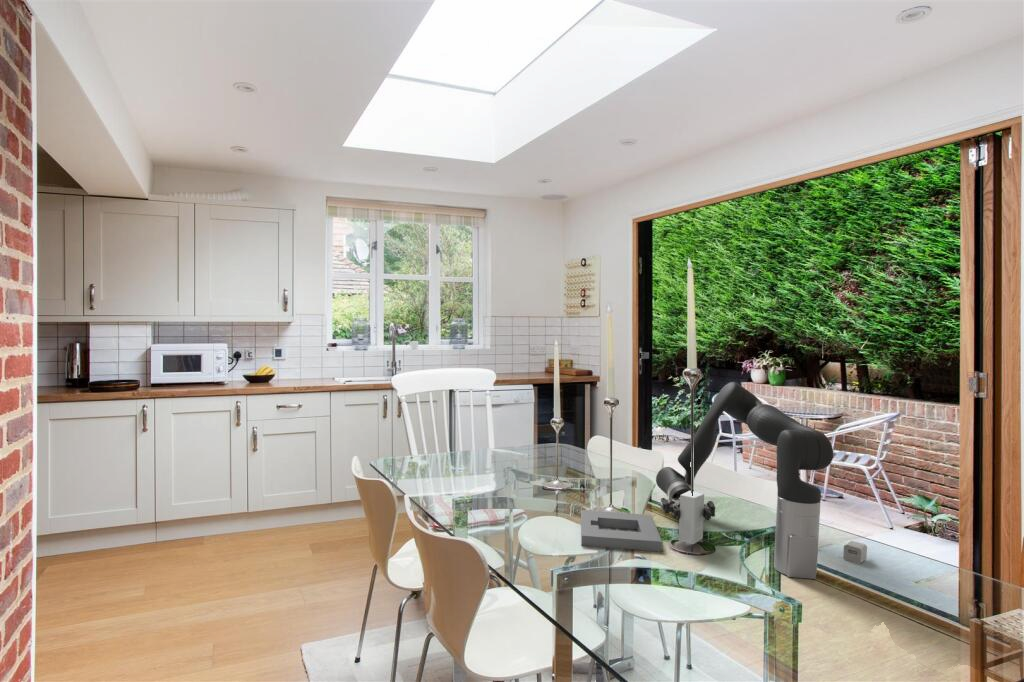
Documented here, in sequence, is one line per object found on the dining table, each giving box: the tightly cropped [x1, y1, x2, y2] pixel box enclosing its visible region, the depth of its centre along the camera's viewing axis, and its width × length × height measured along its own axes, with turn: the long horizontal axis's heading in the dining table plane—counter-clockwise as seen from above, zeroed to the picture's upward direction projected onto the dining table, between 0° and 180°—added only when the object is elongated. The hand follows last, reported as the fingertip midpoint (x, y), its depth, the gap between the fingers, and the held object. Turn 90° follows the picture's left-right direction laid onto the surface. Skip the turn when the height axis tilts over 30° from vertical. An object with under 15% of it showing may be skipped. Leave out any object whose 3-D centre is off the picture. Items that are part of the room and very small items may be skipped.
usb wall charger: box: [842, 540, 868, 565], centre depth 155 cm, size 4×7×4 cm, turn 134°
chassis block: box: [580, 509, 663, 553], centre depth 166 cm, size 22×20×2 cm
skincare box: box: [678, 490, 705, 545], centre depth 159 cm, size 6×4×12 cm
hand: (693, 515), depth 157 cm, fingers closed on skincare box, 6 cm apart
